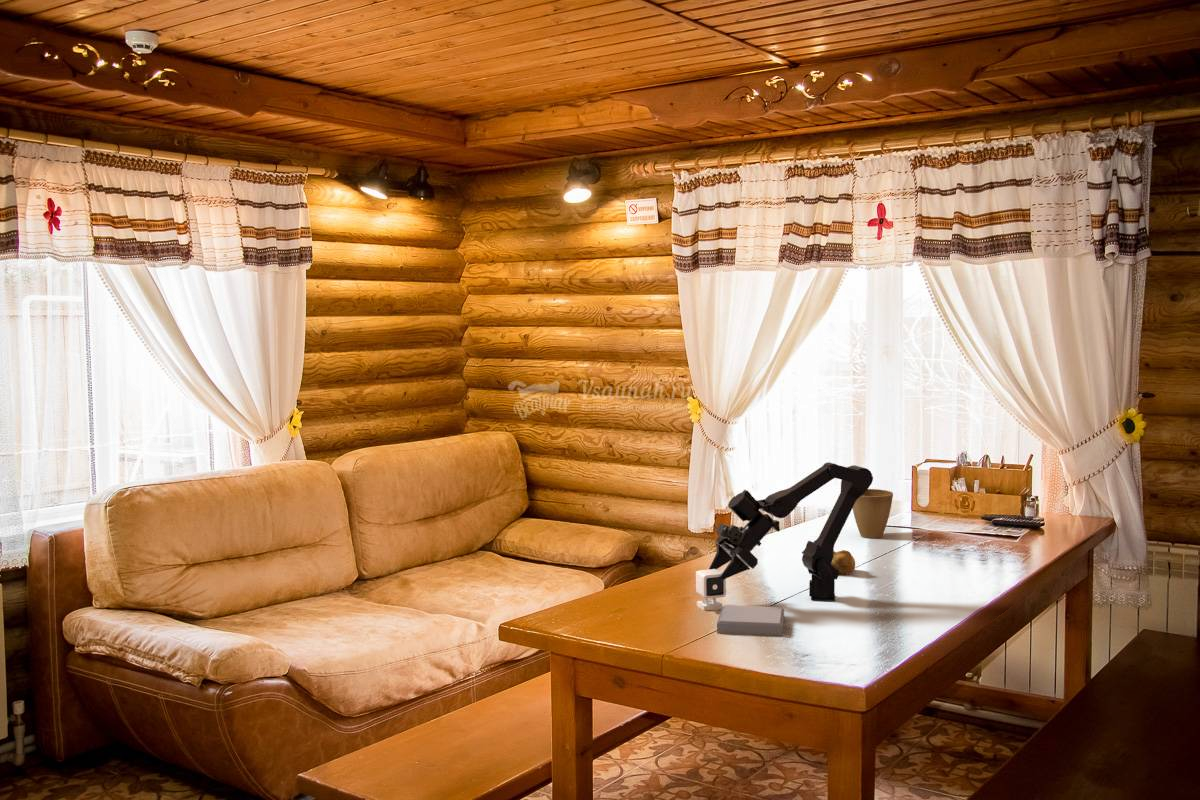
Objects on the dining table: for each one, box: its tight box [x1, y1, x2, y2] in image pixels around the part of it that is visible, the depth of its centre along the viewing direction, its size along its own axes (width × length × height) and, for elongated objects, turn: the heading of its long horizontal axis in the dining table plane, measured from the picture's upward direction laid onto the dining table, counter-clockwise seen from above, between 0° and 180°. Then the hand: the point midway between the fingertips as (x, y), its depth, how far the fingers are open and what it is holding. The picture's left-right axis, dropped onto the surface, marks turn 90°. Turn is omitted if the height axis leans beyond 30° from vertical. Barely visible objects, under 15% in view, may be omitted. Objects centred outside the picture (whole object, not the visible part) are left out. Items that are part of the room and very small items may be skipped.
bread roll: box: [831, 549, 856, 576], centre depth 323 cm, size 13×10×8 cm
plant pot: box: [852, 488, 894, 539], centre depth 374 cm, size 15×15×16 cm
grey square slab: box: [716, 604, 785, 637], centre depth 269 cm, size 16×16×3 cm
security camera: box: [695, 568, 727, 611], centre depth 285 cm, size 6×7×10 cm
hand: (715, 574), depth 286 cm, fingers open, 9 cm apart
